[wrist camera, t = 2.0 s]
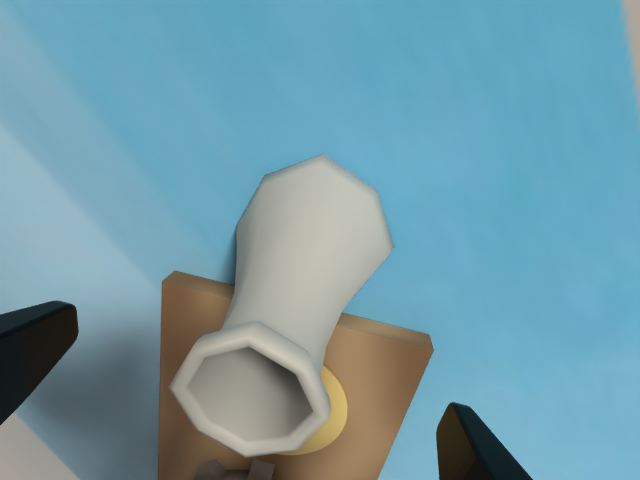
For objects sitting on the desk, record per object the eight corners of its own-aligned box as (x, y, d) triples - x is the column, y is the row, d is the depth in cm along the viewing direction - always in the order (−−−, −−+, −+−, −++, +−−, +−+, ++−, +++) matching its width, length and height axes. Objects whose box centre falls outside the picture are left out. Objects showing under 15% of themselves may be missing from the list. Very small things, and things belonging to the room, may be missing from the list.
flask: (305, 320, 18) (242, 546, 8) (214, 218, 16) (14, 359, 7) (420, 248, 15) (507, 452, 6) (327, 122, 14) (254, 141, 5)
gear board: (166, 505, 26) (130, 575, 22) (174, 270, 17) (121, 315, 14) (337, 553, 25) (332, 634, 21) (429, 334, 17) (448, 400, 13)
